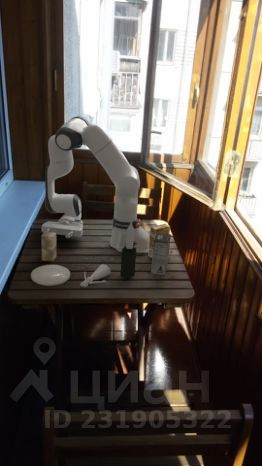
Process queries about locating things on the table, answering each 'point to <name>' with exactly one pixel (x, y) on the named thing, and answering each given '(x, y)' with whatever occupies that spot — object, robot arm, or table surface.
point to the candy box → (153, 231)
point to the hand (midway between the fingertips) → (57, 235)
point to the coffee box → (160, 253)
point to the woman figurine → (97, 275)
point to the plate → (50, 275)
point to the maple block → (49, 246)
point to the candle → (128, 255)
